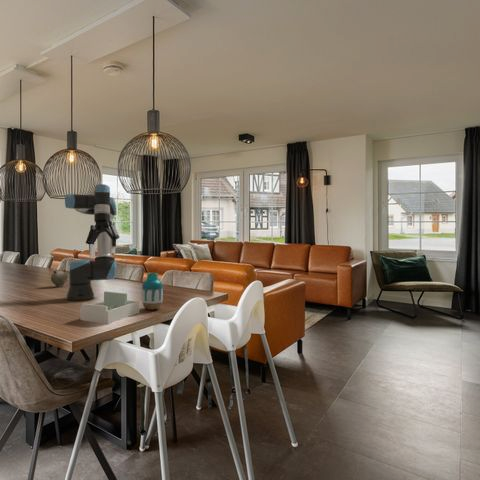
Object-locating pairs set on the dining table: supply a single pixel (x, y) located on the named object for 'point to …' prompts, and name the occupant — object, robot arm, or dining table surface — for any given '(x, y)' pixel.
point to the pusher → (114, 299)
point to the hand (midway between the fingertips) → (102, 255)
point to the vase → (152, 292)
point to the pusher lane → (107, 312)
